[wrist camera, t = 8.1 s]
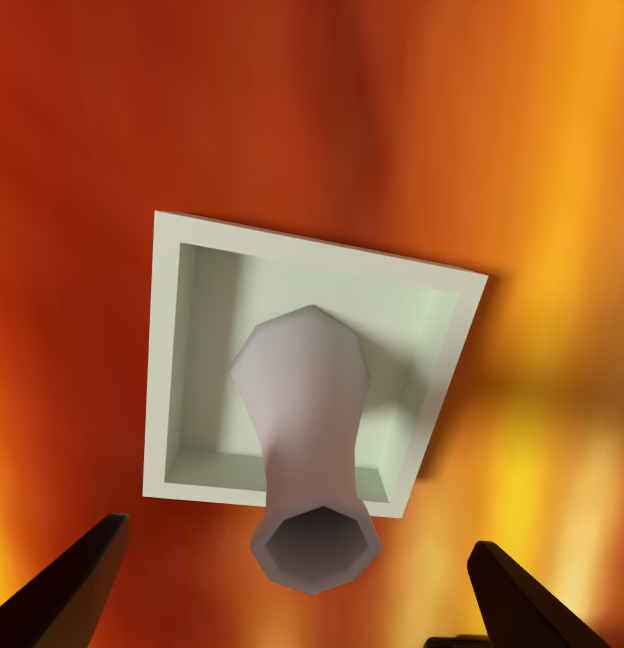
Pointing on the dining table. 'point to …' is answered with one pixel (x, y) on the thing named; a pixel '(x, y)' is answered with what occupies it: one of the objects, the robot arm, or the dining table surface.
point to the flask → (308, 449)
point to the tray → (273, 301)
